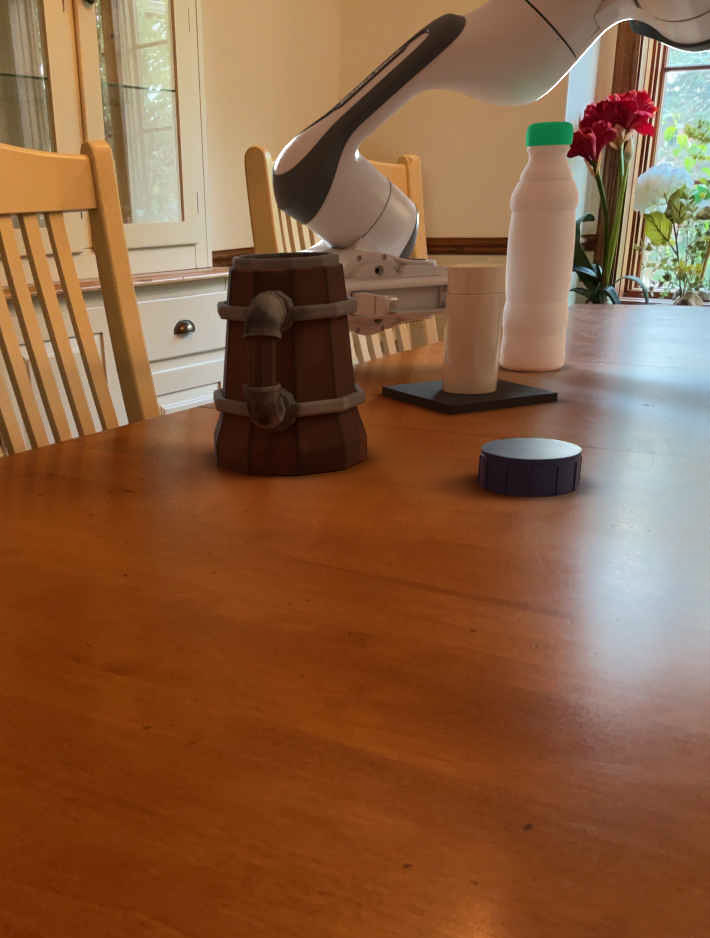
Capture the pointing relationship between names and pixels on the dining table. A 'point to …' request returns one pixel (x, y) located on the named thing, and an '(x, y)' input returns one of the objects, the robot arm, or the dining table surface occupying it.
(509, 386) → the plate
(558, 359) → the water bottle
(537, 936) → the dining table surface
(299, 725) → the dining table surface
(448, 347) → the jam jar
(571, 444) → the jam lid
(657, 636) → the dining table surface
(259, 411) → the mug
